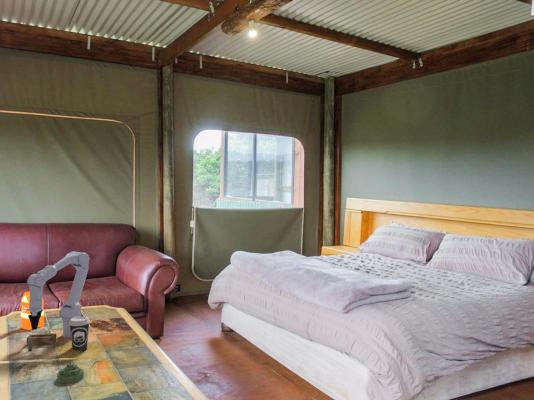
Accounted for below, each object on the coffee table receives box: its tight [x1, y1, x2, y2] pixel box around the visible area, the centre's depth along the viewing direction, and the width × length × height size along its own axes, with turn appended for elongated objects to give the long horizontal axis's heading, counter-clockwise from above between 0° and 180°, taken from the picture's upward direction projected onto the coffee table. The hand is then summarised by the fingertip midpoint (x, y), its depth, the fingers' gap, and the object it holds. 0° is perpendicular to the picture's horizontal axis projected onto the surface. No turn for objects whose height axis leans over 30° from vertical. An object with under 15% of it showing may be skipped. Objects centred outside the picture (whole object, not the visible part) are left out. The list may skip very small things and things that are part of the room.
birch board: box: [16, 339, 59, 357], centre depth 226 cm, size 13×20×1 cm, turn 9°
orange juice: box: [20, 291, 45, 331], centre depth 261 cm, size 8×9×20 cm
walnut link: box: [26, 333, 57, 346], centre depth 231 cm, size 12×6×4 cm, turn 99°
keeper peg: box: [28, 339, 32, 351], centre depth 222 cm, size 2×2×6 cm
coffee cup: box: [69, 315, 91, 353], centre depth 226 cm, size 10×10×15 cm
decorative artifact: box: [56, 361, 85, 385], centre depth 193 cm, size 10×7×10 cm
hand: (35, 327), depth 227 cm, fingers open, 7 cm apart
